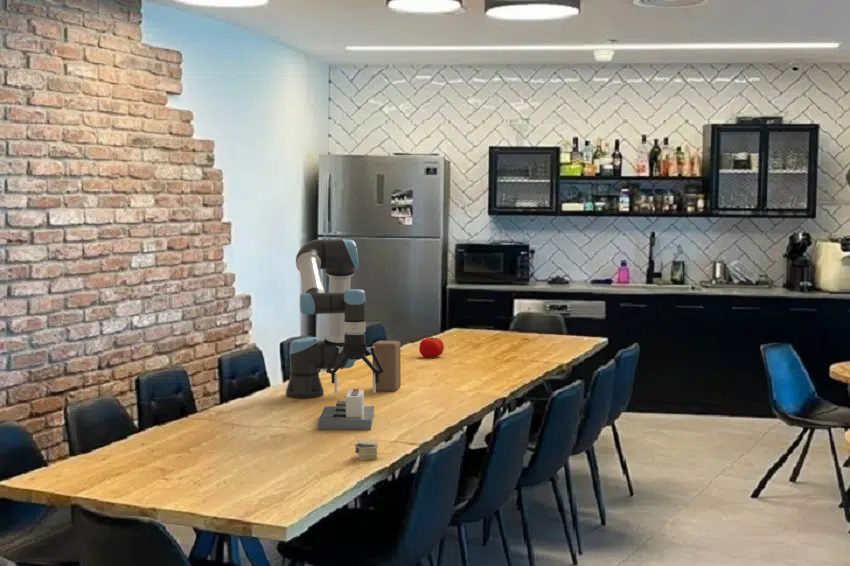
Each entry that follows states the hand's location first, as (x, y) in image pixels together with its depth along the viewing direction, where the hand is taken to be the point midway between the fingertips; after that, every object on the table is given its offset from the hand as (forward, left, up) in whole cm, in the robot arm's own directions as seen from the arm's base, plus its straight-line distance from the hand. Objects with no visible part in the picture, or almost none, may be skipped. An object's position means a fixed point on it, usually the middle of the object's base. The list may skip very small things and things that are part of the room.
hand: (355, 392), depth 370 cm
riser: (-6, +21, -11) cm, 24 cm away
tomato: (+28, +155, -11) cm, 158 cm away
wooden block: (+9, +65, -11) cm, 66 cm away
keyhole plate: (-3, 0, -11) cm, 11 cm away
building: (+7, -51, -11) cm, 53 cm away
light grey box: (0, 0, -10) cm, 10 cm away
